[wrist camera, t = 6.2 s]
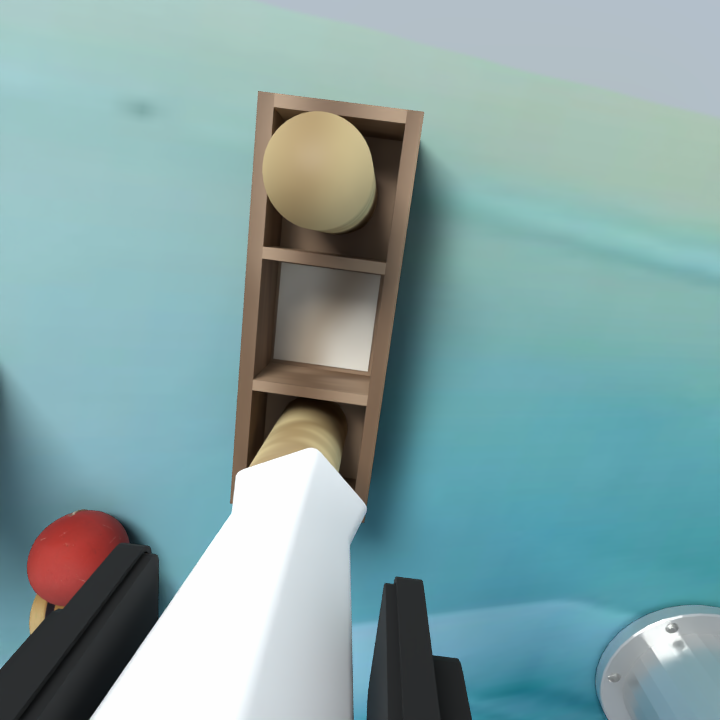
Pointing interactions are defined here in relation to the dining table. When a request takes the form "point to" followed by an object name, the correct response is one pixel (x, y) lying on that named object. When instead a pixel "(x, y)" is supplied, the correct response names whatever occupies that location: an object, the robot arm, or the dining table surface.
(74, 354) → the dining table surface
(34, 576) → the kendama
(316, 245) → the wooden condiment caddy
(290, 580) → the white faceted vase
